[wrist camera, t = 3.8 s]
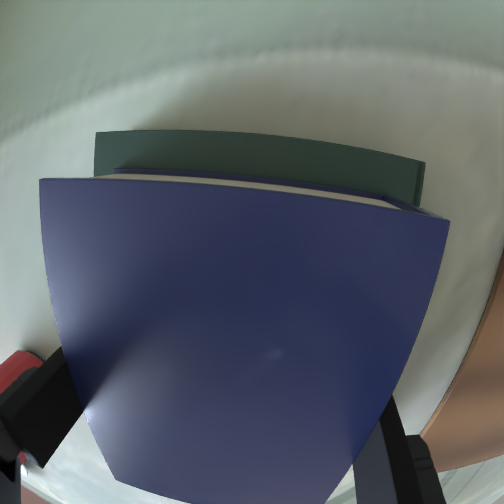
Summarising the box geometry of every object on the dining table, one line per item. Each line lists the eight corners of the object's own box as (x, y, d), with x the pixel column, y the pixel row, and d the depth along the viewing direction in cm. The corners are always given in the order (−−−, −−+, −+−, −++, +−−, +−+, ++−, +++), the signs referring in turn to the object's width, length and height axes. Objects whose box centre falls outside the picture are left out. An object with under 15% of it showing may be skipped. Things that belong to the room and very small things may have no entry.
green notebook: (324, 441, 17) (326, 468, 15) (142, 410, 18) (129, 434, 16) (402, 161, 12) (426, 162, 9) (124, 134, 13) (95, 132, 10)
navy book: (312, 456, 15) (312, 518, 10) (142, 427, 15) (115, 479, 11) (391, 195, 10) (451, 221, 6) (117, 167, 11) (38, 178, 7)
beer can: (38, 342, 18) (-57, 433, 7) (83, 406, 20) (13, 505, 8) (8, 350, 19) (-69, 421, 8) (46, 405, 21) (-16, 483, 10)
